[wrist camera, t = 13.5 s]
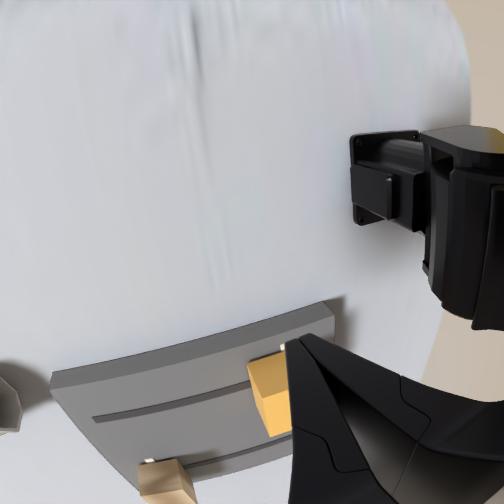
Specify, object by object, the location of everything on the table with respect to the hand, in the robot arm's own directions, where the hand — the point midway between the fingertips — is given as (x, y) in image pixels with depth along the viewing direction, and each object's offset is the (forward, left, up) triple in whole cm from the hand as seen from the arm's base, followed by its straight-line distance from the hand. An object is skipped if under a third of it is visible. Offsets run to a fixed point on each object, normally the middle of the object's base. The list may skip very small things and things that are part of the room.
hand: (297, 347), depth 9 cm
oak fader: (+11, +22, -10) cm, 26 cm away
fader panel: (+4, +17, -12) cm, 21 cm away
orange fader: (-2, +12, -10) cm, 15 cm away
